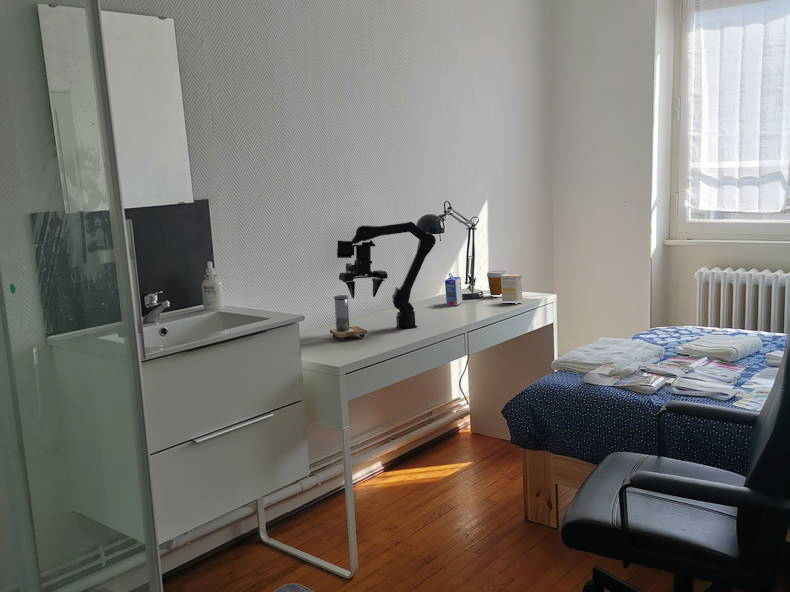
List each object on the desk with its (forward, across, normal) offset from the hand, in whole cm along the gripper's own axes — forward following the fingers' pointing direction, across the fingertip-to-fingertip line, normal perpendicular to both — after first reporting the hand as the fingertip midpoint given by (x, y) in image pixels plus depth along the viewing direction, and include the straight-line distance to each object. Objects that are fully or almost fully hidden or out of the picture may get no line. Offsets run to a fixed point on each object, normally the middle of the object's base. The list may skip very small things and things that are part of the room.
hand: (363, 297), depth 297 cm
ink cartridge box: (+11, -58, -24) cm, 64 cm away
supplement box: (+9, -78, -6) cm, 79 cm away
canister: (+10, +13, +8) cm, 18 cm away
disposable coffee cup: (+9, -85, -27) cm, 89 cm away
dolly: (+14, +11, +9) cm, 19 cm away
